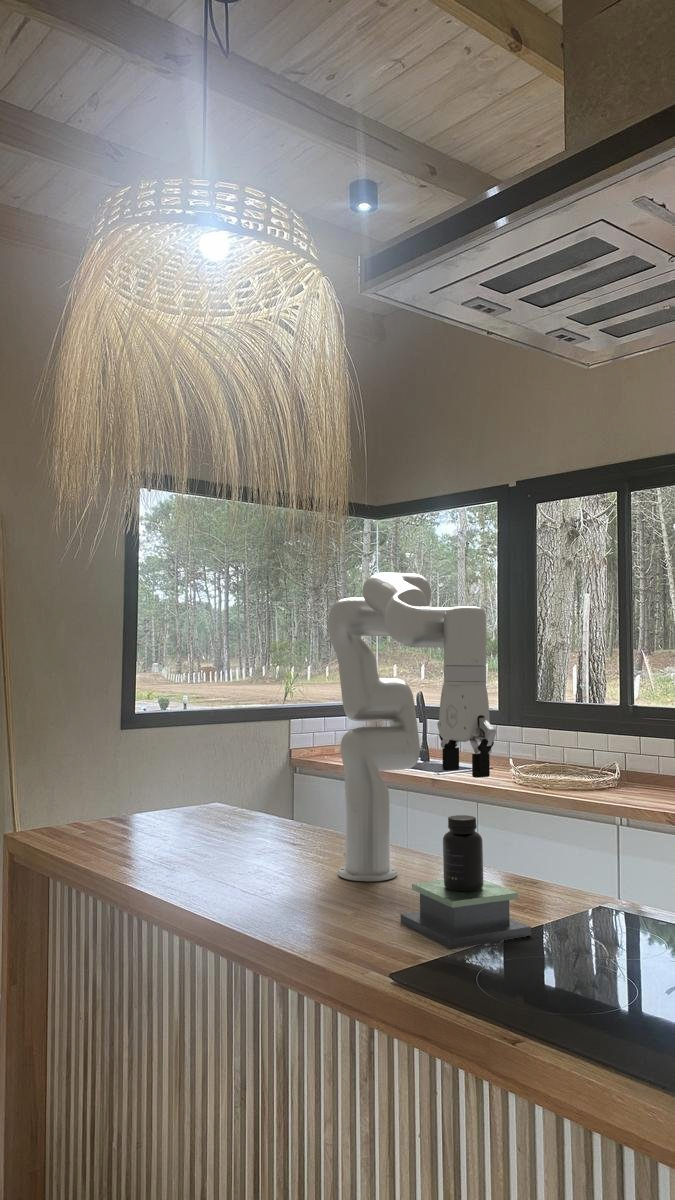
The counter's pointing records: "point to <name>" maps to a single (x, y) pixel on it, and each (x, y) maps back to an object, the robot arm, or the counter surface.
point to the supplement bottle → (462, 855)
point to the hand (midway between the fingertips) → (465, 773)
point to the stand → (464, 915)
